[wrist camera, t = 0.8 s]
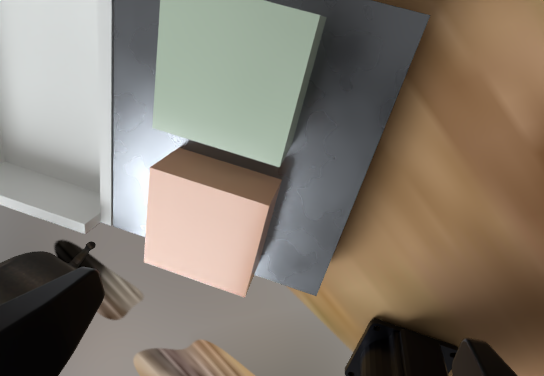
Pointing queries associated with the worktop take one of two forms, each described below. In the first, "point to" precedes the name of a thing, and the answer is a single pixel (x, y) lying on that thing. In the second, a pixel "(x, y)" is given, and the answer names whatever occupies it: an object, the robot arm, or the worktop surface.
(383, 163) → the worktop surface
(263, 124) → the sage tile
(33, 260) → the alarm clock
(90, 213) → the box
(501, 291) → the worktop surface
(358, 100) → the steel plate
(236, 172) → the terracotta tile
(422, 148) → the worktop surface
